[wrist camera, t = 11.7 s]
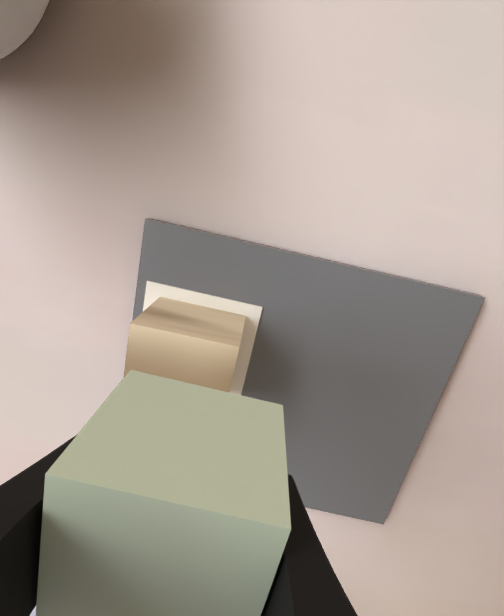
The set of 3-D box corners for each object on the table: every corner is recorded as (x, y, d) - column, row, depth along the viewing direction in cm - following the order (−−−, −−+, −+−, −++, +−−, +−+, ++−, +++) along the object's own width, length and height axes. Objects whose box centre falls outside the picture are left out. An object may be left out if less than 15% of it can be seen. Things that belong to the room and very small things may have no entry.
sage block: (248, 520, 11) (237, 681, 8) (113, 490, 11) (33, 637, 8) (283, 405, 10) (291, 529, 6) (130, 369, 10) (45, 473, 6)
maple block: (229, 390, 19) (219, 438, 15) (149, 373, 19) (119, 417, 15) (245, 315, 18) (239, 347, 14) (159, 296, 18) (129, 323, 14)
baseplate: (381, 517, 22) (383, 525, 22) (117, 459, 22) (113, 466, 21) (478, 294, 18) (486, 298, 17) (148, 218, 17) (144, 219, 17)
